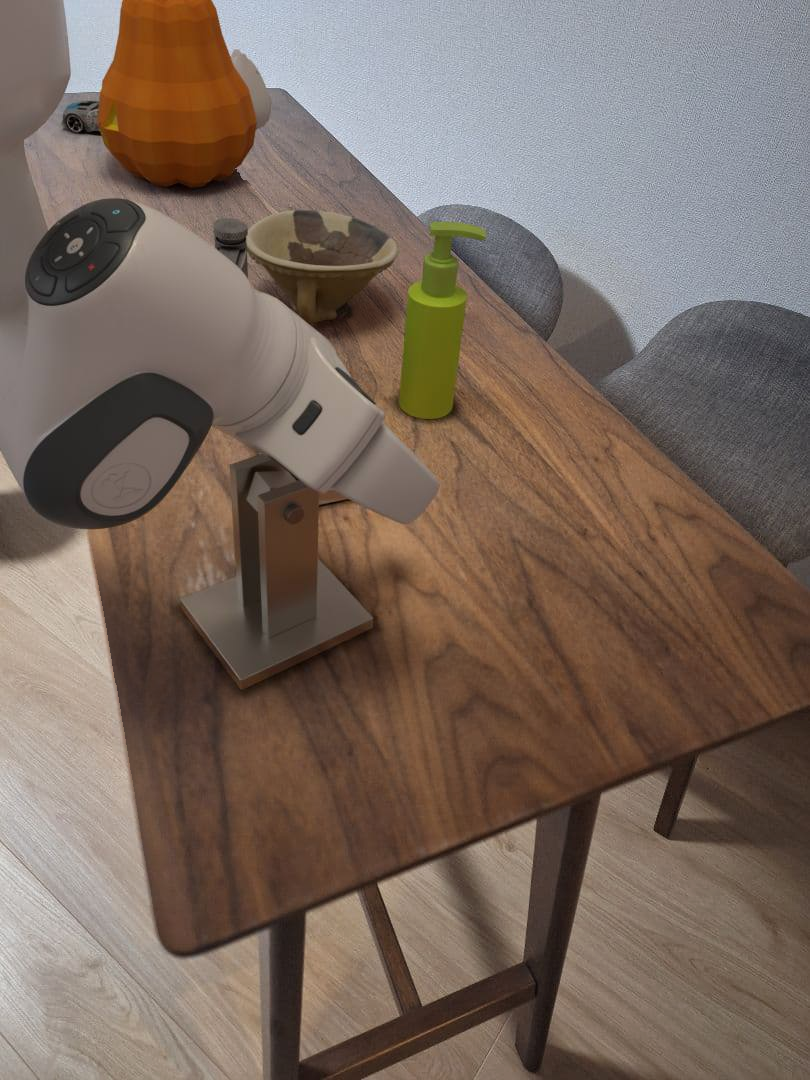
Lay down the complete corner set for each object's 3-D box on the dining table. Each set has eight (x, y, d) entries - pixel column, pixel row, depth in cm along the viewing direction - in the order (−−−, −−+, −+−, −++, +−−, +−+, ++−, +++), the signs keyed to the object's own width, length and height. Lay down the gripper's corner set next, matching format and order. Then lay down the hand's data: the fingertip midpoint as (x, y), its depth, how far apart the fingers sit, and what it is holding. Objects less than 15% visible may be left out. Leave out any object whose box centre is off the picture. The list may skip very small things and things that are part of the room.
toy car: (77, 117, 159) (72, 86, 156) (171, 131, 158) (168, 100, 154) (57, 130, 153) (52, 99, 150) (155, 144, 152) (151, 113, 149)
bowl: (375, 355, 106) (380, 278, 100) (228, 329, 108) (223, 252, 102) (406, 290, 119) (412, 218, 113) (273, 268, 121) (272, 196, 115)
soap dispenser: (462, 421, 97) (488, 241, 84) (398, 417, 97) (413, 235, 84) (461, 392, 102) (485, 216, 89) (399, 387, 101) (414, 210, 88)
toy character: (281, 132, 161) (280, 58, 154) (225, 137, 157) (221, 61, 149) (259, 114, 168) (257, 42, 160) (204, 118, 164) (199, 44, 156)
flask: (255, 352, 105) (249, 196, 93) (251, 424, 94) (245, 258, 82) (222, 352, 104) (213, 195, 92) (215, 423, 94) (203, 256, 82)
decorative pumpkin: (90, 152, 147) (58, -69, 127) (233, 142, 156) (224, -66, 136) (121, 208, 132) (90, -33, 112) (278, 194, 140) (275, -33, 120)
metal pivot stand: (307, 556, 80) (309, 414, 70) (372, 628, 74) (384, 484, 64) (181, 609, 74) (163, 462, 64) (241, 690, 68) (231, 543, 58)
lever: (393, 493, 77) (408, 456, 75) (419, 517, 74) (435, 480, 73) (238, 501, 66) (252, 458, 65) (263, 529, 64) (278, 486, 63)
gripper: (170, 347, 65) (288, 423, 77) (323, 502, 54) (436, 565, 65) (223, 276, 65) (334, 364, 76) (390, 418, 53) (493, 497, 64)
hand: (382, 458), depth 70 cm, fingers closed
